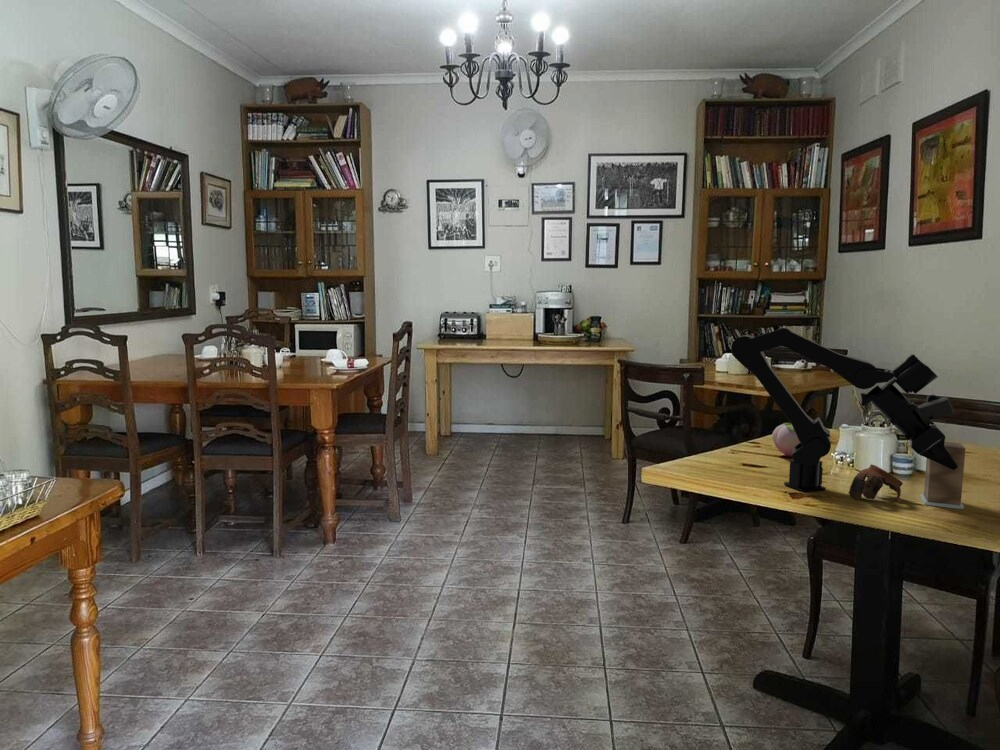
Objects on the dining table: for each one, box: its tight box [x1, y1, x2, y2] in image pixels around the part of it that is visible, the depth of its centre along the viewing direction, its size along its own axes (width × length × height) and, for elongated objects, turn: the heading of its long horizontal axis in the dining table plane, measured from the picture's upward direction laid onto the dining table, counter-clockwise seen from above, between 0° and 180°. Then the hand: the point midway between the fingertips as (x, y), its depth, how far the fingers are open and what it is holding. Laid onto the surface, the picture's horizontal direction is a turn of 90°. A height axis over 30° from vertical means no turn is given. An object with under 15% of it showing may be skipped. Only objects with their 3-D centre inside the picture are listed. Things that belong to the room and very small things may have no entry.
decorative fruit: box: [771, 420, 800, 457], centre depth 196 cm, size 9×8×10 cm
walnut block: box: [923, 441, 966, 505], centre depth 153 cm, size 6×6×12 cm
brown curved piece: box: [848, 464, 904, 502], centre depth 156 cm, size 12×10×8 cm
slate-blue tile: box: [920, 493, 964, 510], centre depth 154 cm, size 7×7×1 cm
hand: (952, 463), depth 152 cm, fingers open, 9 cm apart
